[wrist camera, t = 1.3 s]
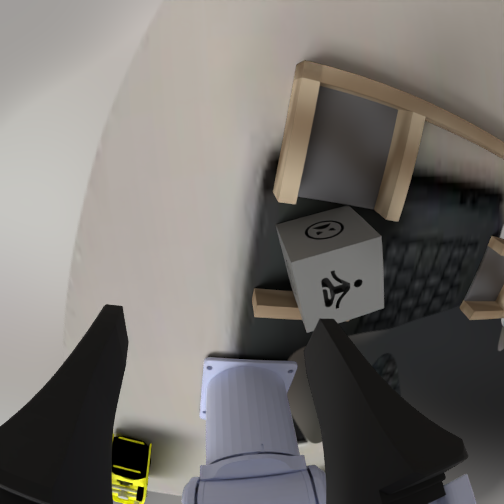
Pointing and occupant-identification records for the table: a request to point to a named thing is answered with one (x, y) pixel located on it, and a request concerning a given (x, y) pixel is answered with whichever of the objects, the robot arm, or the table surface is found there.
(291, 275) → the dice cube
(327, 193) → the light wood flat frame
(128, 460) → the yellow toy chassis
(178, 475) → the table surface
